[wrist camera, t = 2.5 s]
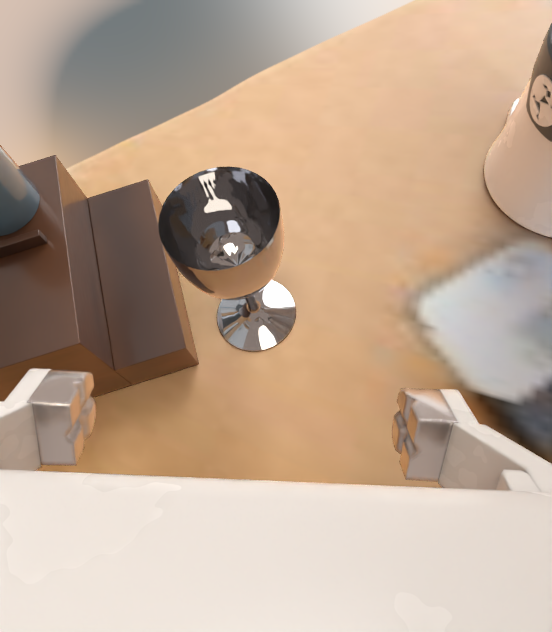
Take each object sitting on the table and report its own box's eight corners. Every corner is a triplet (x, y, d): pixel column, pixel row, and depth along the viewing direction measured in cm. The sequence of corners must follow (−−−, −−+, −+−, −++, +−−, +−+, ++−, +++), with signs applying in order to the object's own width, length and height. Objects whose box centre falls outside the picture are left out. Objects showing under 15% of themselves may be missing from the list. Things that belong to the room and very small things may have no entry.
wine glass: (196, 334, 47) (134, 244, 34) (239, 262, 50) (197, 152, 36) (275, 370, 45) (242, 290, 31) (315, 293, 47) (302, 188, 34)
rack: (161, 204, 54) (116, 119, 43) (199, 364, 46) (155, 308, 36) (19, 248, 54) (-60, 174, 43) (33, 416, 46) (-59, 375, 35)
